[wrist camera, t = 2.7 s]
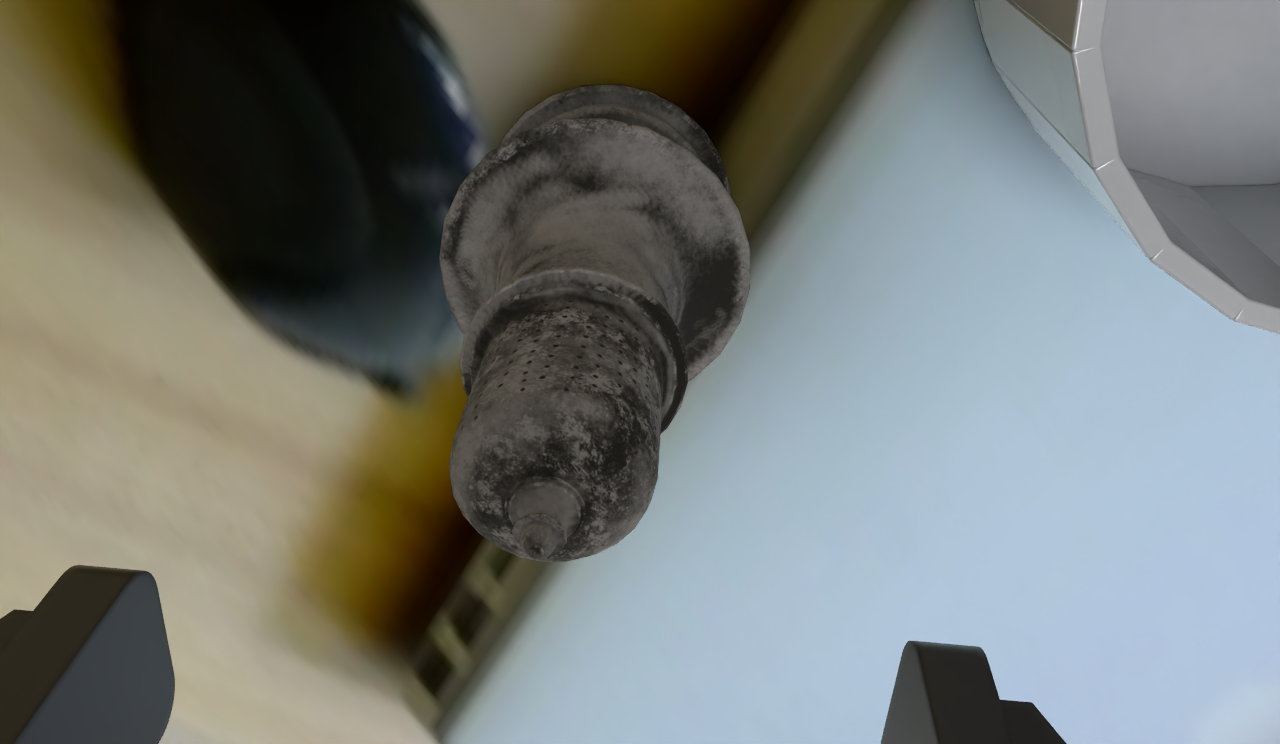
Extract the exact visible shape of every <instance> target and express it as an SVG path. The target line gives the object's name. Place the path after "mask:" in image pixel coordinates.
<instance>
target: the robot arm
mask: <svg viewBox="0 0 1280 744" xmlns="http://www.w3.org/2000/svg"><path fill="white" fill-rule="evenodd" d="M174 691H175V678H174V671H173V666H172V661H171V655H170V650H169V645H168V640H167V635H166V629H165V624H164V619H163V614H162V609H161V603H160V598H159V593H158V588H157V584H156V581H155V579H154V577H153V576H152V574H150V573H149V572H147V571H140V570H129V569H117V568H106V567H94V566H83V565H76V566H73V567H71V568H69V569H68V570H67V571H65V572H64V574H63V575H62V576H61V577H60V578H59V579H58V581H57V582H56V583H55V584H54V586H53V587H52V588H51V589H50V591H49V592H48V593H47V594H46V596H45V597H44V598H43V599H42V601H41V602H40V603H39V604H38V606H37V607H36V608H35V609H34V611H25V610H13V611H11V612H10V613H8V614H7V615H6V616H4V617H3V618H1V619H0V744H158V743H159V741H160V740H161V738H162V736H163V734H164V732H165V729H166V727H167V724H168V721H169V718H170V714H171V711H172V706H173V700H174ZM881 744H1066V743H1065V741H1064V740H1063V739H1062V738H1061V737H1060V735H1059V734H1058V733H1057V732H1056V731H1055V730H1054V728H1053V727H1052V726H1051V725H1050V724H1049V722H1048V721H1047V720H1046V719H1045V718H1044V716H1043V715H1042V714H1041V713H1040V712H1039V710H1038V709H1037V708H1036V707H1035V706H1034V704H1033V703H1030V702H1019V701H1008V700H1000V699H999V696H998V693H997V689H996V686H995V683H994V679H993V676H992V673H991V670H990V666H989V663H988V660H987V657H986V655H985V653H984V651H983V650H982V649H981V648H980V647H976V646H964V645H953V644H942V643H930V642H919V641H908V642H907V644H906V645H905V647H904V650H903V653H902V657H901V661H900V665H899V669H898V673H897V677H896V682H895V686H894V690H893V694H892V698H891V703H890V707H889V711H888V715H887V719H886V723H885V728H884V732H883V736H882V740H881Z"/></svg>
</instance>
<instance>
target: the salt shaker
mask: <svg viewBox="0 0 1280 744" xmlns="http://www.w3.org/2000/svg"><path fill="white" fill-rule="evenodd" d="M439 260H440V267H441V274H442V280H443V287H444V293H445V297H446V299H447V301H448V304H449V306H450V308H451V310H452V313H453V315H454V317H455V319H456V322H457V324H458V326H459V328H460V330H461V331H462V333H463V334H464V335H465V336H464V341H463V347H462V353H461V359H460V366H461V373H462V380H463V388H464V390H465V392H466V394H467V397H468V400H467V403H466V406H465V408H464V411H463V414H462V417H461V419H460V422H459V425H458V428H457V430H456V433H455V436H454V439H453V444H452V450H451V456H450V477H451V483H452V490H453V495H454V498H455V500H456V502H457V504H458V506H459V508H460V510H461V512H462V514H463V516H464V517H465V518H466V519H467V520H468V521H469V522H470V524H471V525H472V526H473V527H474V528H475V529H476V530H477V532H478V533H480V534H481V535H482V536H483V537H485V538H486V539H488V540H489V541H491V542H492V543H493V544H495V545H496V546H498V547H499V548H500V549H502V550H505V551H507V552H509V553H512V554H514V555H517V556H519V557H522V558H527V559H532V560H537V561H542V562H558V561H570V560H574V559H579V558H583V557H587V556H591V555H594V554H597V553H599V552H601V551H603V550H605V549H607V548H609V547H611V546H613V545H615V544H617V543H618V542H619V541H621V540H622V539H623V538H624V537H625V536H626V535H628V534H629V533H630V532H631V531H632V530H633V529H634V528H635V527H636V525H637V524H638V522H639V521H640V519H641V518H642V516H643V515H644V513H645V512H646V510H647V508H648V506H649V504H650V502H651V499H652V496H653V492H654V489H655V485H656V482H657V478H658V463H659V447H660V434H661V433H662V432H663V431H664V430H666V429H667V427H668V426H669V424H670V423H671V421H672V419H673V418H674V416H675V415H676V413H677V412H678V410H679V409H680V407H681V404H682V401H683V397H684V394H685V390H686V387H687V383H688V381H690V380H692V379H693V378H694V377H696V376H697V375H698V374H699V373H700V372H701V371H702V370H703V369H704V368H705V367H706V366H708V365H709V364H710V363H711V362H712V361H713V360H714V359H715V358H716V357H717V356H718V355H720V354H721V352H722V350H723V349H724V347H725V346H726V344H727V342H728V341H729V339H730V338H731V336H732V334H733V333H734V331H735V330H736V328H737V326H738V325H739V323H740V321H741V317H742V314H743V310H744V307H745V303H746V300H747V296H748V293H749V289H750V246H749V243H748V240H747V236H746V233H745V229H744V226H743V223H742V219H741V216H740V213H739V210H738V208H737V206H736V205H735V203H734V202H733V200H732V199H731V197H730V185H729V182H728V179H727V175H726V172H725V168H724V165H723V162H722V158H721V156H720V154H719V153H718V151H717V150H716V148H715V146H714V145H713V143H712V142H711V140H710V138H709V137H708V135H707V134H706V132H705V130H704V129H703V128H702V127H701V126H700V125H699V124H697V123H696V122H695V121H694V120H693V119H692V118H691V117H690V116H689V115H688V114H687V113H685V112H684V111H683V110H682V109H681V108H680V107H679V106H677V105H675V104H673V103H671V102H669V101H667V100H665V99H663V98H661V97H659V96H657V95H656V94H654V93H652V92H650V91H645V90H641V89H636V88H632V87H628V86H623V85H619V84H606V85H583V86H580V87H577V88H574V89H570V90H567V91H564V92H561V93H558V94H555V95H552V96H550V97H549V98H547V99H545V100H544V101H542V102H541V103H539V104H538V105H536V106H535V107H533V108H532V109H530V110H529V111H527V112H526V113H524V115H523V116H522V117H521V118H520V119H519V120H518V121H517V123H516V124H515V125H514V126H513V127H512V128H511V130H510V131H509V132H508V133H507V134H506V135H505V136H504V138H503V140H502V142H501V145H500V146H499V147H497V148H496V149H494V150H493V151H491V152H490V153H488V154H487V155H486V156H485V157H484V158H483V159H482V160H481V162H480V163H479V164H478V165H477V166H476V167H475V169H474V170H473V171H472V172H471V173H470V174H469V175H468V177H467V178H466V179H465V180H464V181H463V182H462V184H461V185H460V187H459V189H458V191H457V194H456V196H455V198H454V200H453V203H452V205H451V207H450V209H449V211H448V214H447V216H446V218H445V220H444V226H443V234H442V241H441V249H440V256H439Z"/></svg>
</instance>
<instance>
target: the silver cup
mask: <svg viewBox="0 0 1280 744" xmlns="http://www.w3.org/2000/svg"><path fill="white" fill-rule="evenodd" d="M974 4H975V8H976V12H977V16H978V20H979V23H980V27H981V31H982V35H983V39H984V41H985V44H986V46H987V49H988V51H989V53H990V56H991V60H992V61H993V64H994V66H995V67H996V70H997V72H998V74H999V75H1000V77H1001V79H1002V80H1003V82H1004V84H1005V85H1006V87H1007V89H1008V90H1009V92H1010V93H1011V95H1012V97H1013V98H1014V100H1015V102H1016V103H1017V104H1018V105H1019V106H1020V108H1021V109H1022V110H1023V112H1024V113H1025V115H1026V117H1027V118H1028V120H1029V121H1030V123H1031V124H1032V126H1033V128H1034V129H1035V131H1036V132H1037V133H1038V134H1039V135H1040V137H1041V138H1042V139H1043V140H1044V141H1045V142H1046V143H1047V145H1048V146H1049V147H1050V148H1051V149H1052V150H1053V151H1054V152H1055V154H1056V155H1057V156H1058V157H1059V158H1060V159H1061V160H1062V162H1063V163H1064V164H1065V165H1066V166H1067V167H1068V168H1069V170H1070V171H1071V172H1072V173H1073V174H1074V175H1075V176H1076V178H1077V179H1078V180H1079V181H1080V182H1081V183H1082V184H1083V185H1084V187H1085V188H1086V189H1087V190H1088V191H1089V192H1090V193H1091V195H1092V196H1093V197H1094V198H1095V199H1096V200H1097V201H1098V203H1099V204H1100V205H1101V206H1102V207H1103V208H1104V209H1105V210H1106V212H1107V213H1108V214H1109V215H1110V216H1111V217H1112V218H1113V220H1114V221H1115V222H1116V223H1117V224H1118V225H1119V226H1120V228H1121V229H1122V230H1123V231H1124V232H1125V233H1126V234H1127V236H1128V237H1129V238H1130V239H1131V240H1132V241H1133V242H1134V243H1135V245H1136V246H1137V247H1138V248H1139V249H1140V250H1141V251H1142V253H1143V254H1144V255H1145V256H1146V257H1147V258H1148V259H1149V260H1150V261H1151V262H1152V263H1154V264H1155V265H1156V266H1158V267H1159V268H1160V269H1162V270H1163V271H1165V272H1166V273H1167V274H1169V275H1170V276H1171V277H1173V278H1174V279H1175V280H1177V281H1178V282H1180V283H1181V284H1182V285H1184V286H1185V287H1186V288H1188V289H1189V290H1191V291H1192V292H1193V293H1195V294H1196V295H1197V296H1199V297H1200V298H1201V299H1203V300H1204V301H1206V302H1207V303H1208V304H1210V305H1211V306H1212V307H1214V308H1215V309H1217V310H1218V311H1219V312H1221V313H1222V314H1223V315H1225V316H1226V317H1228V318H1229V319H1232V320H1234V321H1235V322H1239V323H1242V324H1246V325H1249V326H1253V327H1256V328H1260V329H1263V330H1267V331H1270V332H1274V333H1277V334H1280V0H974Z"/></svg>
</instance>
